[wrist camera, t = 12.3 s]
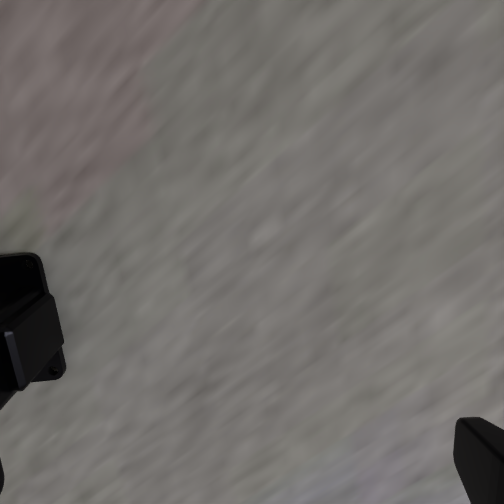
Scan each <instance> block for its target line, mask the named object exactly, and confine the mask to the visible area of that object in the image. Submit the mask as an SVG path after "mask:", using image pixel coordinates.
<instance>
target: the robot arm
mask: <svg viewBox="0 0 504 504" xmlns="http://www.w3.org/2000/svg"><path fill="white" fill-rule="evenodd" d="M26 260H29V261H31V262H32V264H33V268H30V267H28V266H27V264H26ZM63 343H64V339H63V334H62V330H61V326H60V321H59V317H58V313H57V308H56V304H55V300H54V297H53V296H52V295H51V294H50V293H49V290H48V286H47V281H46V277H45V273H44V269H43V264H42V261H41V259H40V257H39V256H38V255H36V254H34V253H21V254H11V255H1V256H0V410H1V409H2V408H3V407H4V405H5V404H6V403H7V402H8V401H9V400H10V399H11V397H12V396H13V395H14V394H15V393H16V392H17V391H23V390H24V389H25V388H26V387H27V386H28V385H29V384H30V382H39V381H49V380H56V379H59V378H60V377H62V375H63V374H64V373H65V371H66V363H65V359H64V354H63V350H62V345H63ZM51 366H54V367H56V368H57V369H58V371H54V370H52V368H51ZM453 457H454V463H455V466H456V469H457V471H458V474H459V476H460V478H461V481H462V483H463V486H464V488H465V490H466V493H467V495H468V498H469V500H470V502H471V504H504V430H503V429H501V428H499V427H497V426H495V425H494V424H492V423H490V422H488V421H486V420H484V419H483V418H480V417H465V418H459V419H458V420H457V422H456V426H455V438H454V450H453ZM3 485H4V472H3V467H2V463H1V459H0V494H1V492H2V489H3Z"/></svg>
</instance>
